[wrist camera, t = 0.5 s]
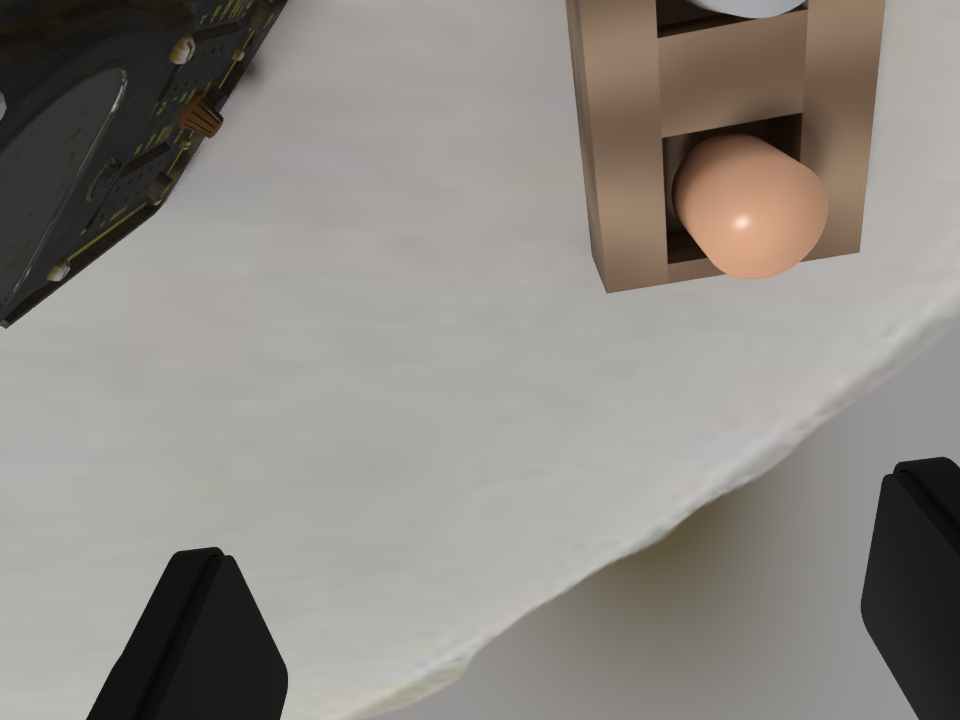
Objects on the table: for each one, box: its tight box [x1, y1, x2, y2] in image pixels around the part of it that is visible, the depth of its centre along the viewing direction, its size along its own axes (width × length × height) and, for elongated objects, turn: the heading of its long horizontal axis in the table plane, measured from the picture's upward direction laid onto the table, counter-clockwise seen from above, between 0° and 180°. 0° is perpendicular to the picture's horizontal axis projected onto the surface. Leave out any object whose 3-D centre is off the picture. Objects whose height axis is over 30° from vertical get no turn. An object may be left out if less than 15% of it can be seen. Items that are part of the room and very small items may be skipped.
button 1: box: [671, 132, 828, 279], centre depth 30 cm, size 5×5×5 cm
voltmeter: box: [0, 0, 287, 329], centre depth 22 cm, size 16×9×25 cm, turn 140°
